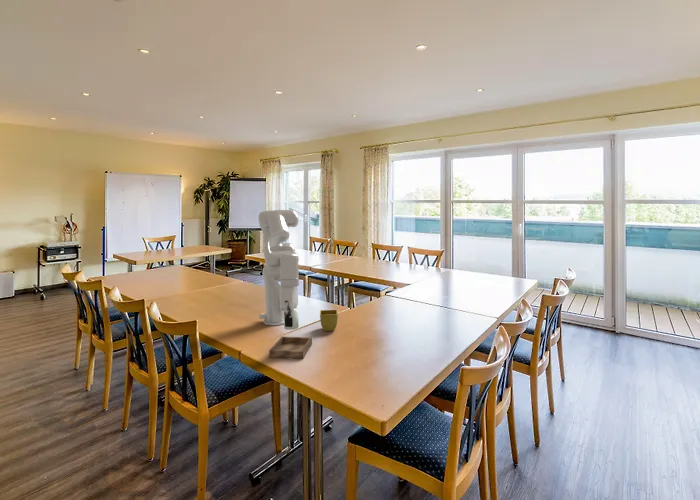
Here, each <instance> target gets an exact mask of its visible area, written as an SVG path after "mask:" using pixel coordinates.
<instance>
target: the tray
mask: <svg viewBox="0 0 700 500" xmlns="http://www.w3.org/2000/svg"><path fill="white" fill-rule="evenodd" d="M312 345H313V337H312V336H311V337H307V336H301V337H300V336H281V337H280V338H279V339H278V340H277V341H276V342H275V343H274V345H273V346H272V347H271V348H270V349H269V350H268V352H269V358H270V359H288V358H293V359H294V360H304V358H305V357H306V355H307V354H308V351H310V348H311V347H312Z"/></svg>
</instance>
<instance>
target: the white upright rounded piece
mask: <svg viewBox="0 0 700 500" xmlns="http://www.w3.org/2000/svg"><path fill="white" fill-rule="evenodd" d="M288 310H290V309H288ZM289 314H290V312H289ZM292 320H293V326H292V327H285V318H284V324H283V325H284V326H283V327H284V330H287V331H288V330H289V331H291V330H297V329H298V328H299V326H300V325H299V308H298V307H296V308H295V309H293V310H292Z"/></svg>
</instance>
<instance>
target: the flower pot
mask: <svg viewBox="0 0 700 500" xmlns="http://www.w3.org/2000/svg"><path fill="white" fill-rule="evenodd" d="M338 316H339V314H338V309H323V310H322V309H321V310H319V319H320V326H321V328H322V330H323V331H324V332H330V331H332V332H334V331H335V330H336V328H337V324H338Z"/></svg>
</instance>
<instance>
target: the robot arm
mask: <svg viewBox="0 0 700 500" xmlns="http://www.w3.org/2000/svg"><path fill="white" fill-rule="evenodd" d="M258 223H259V227H260V229H261V232H262V234H263V245H264V246H263V256H264V260H265V266H264V267H263V268H262V277H263V283H264V291H265V292H264V293H265V295H264V296H265V297H264V298H265V313H259V314H258V317H259V319H263V324H264V325H266V326H280V325H284V318H285V327H292V326H293V320H292V310H293V309H295V308H298V305H299V293H298V291H299V290H298V287H299V286H300V281H299V278H300V277H299V276H300V275H299V260H300V259H299V258H300V257H299V255H298V253H297V251H296V249H295V246H294V244H292V243H291V242H287V241H288V240H289V238H290V230H289V228H295V227H297V226H298V225H299V216H298V212H296V210H294V209H275V210H272V209H271V210H263V211H260V212H259V214H258ZM279 282H280V283H279ZM288 309H290V310H288ZM289 312H290V314H289Z"/></svg>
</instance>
